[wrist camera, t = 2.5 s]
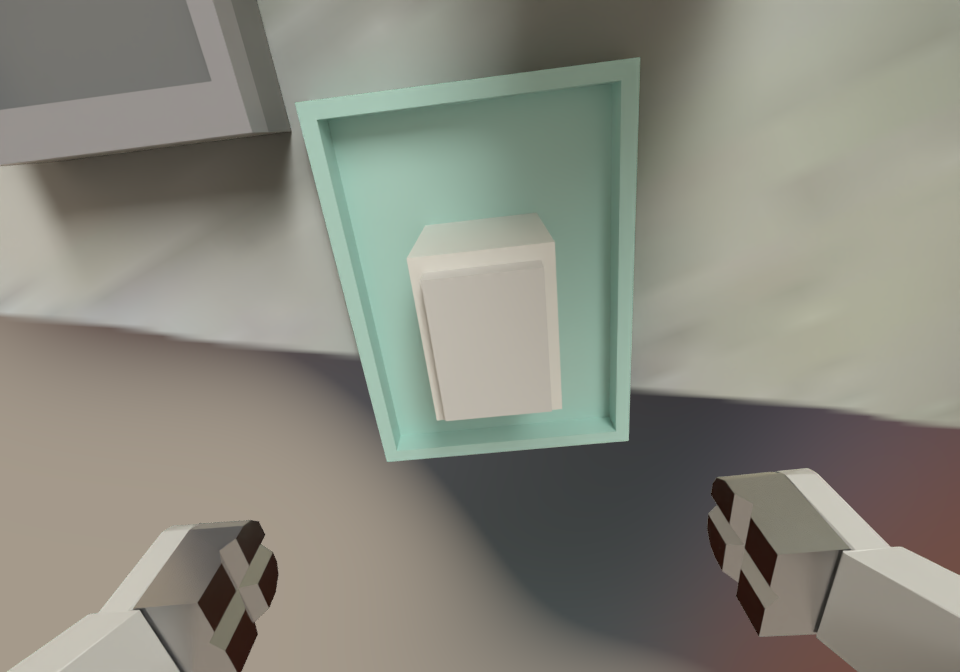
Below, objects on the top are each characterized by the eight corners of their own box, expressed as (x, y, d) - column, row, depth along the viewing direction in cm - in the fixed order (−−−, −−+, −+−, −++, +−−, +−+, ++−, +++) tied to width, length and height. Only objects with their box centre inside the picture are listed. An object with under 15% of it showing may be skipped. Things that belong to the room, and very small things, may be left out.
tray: (627, 62, 16) (640, 56, 15) (619, 421, 23) (628, 440, 21) (310, 104, 17) (294, 102, 15) (392, 442, 23) (386, 462, 22)
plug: (536, 212, 18) (558, 248, 13) (544, 346, 21) (566, 422, 15) (425, 225, 18) (402, 265, 13) (446, 356, 21) (434, 434, 16)
